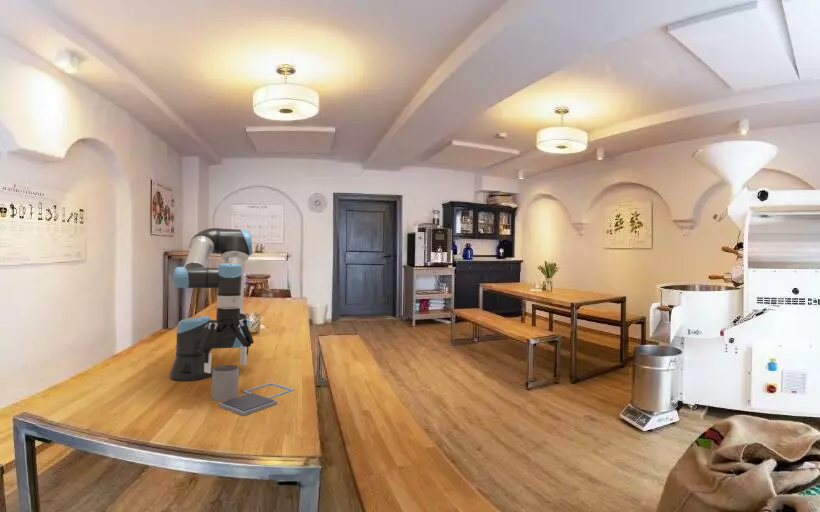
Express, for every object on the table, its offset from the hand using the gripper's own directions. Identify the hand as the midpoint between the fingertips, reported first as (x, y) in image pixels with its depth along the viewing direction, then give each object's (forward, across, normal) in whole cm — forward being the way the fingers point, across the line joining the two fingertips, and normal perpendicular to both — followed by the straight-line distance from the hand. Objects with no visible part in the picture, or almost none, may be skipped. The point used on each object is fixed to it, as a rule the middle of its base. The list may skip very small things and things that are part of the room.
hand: (225, 368), depth 141 cm
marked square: (+10, +13, -6) cm, 18 cm away
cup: (+10, 0, 0) cm, 10 cm away
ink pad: (+10, 0, -12) cm, 16 cm away
